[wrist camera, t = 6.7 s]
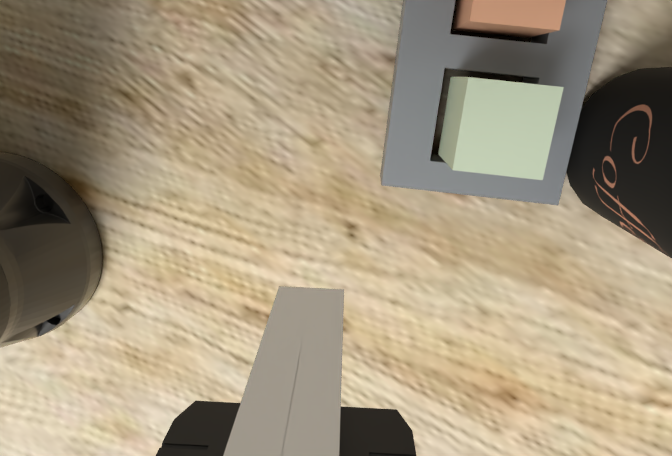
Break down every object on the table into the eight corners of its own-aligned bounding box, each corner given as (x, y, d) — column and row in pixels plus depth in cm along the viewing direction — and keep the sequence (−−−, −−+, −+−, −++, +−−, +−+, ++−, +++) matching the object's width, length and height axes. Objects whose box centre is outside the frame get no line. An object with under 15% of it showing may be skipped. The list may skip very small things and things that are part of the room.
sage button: (438, 154, 34) (452, 170, 28) (450, 76, 32) (468, 77, 27) (513, 162, 34) (542, 180, 28) (529, 84, 32) (563, 87, 27)
